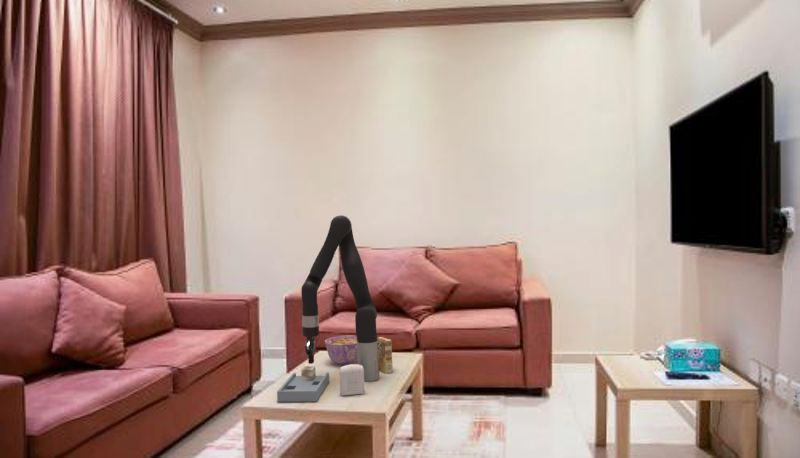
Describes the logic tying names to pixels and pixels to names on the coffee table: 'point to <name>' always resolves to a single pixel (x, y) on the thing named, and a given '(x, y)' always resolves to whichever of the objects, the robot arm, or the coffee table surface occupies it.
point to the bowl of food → (342, 349)
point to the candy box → (385, 354)
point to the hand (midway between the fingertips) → (311, 363)
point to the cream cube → (308, 373)
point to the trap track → (302, 389)
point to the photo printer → (351, 380)
